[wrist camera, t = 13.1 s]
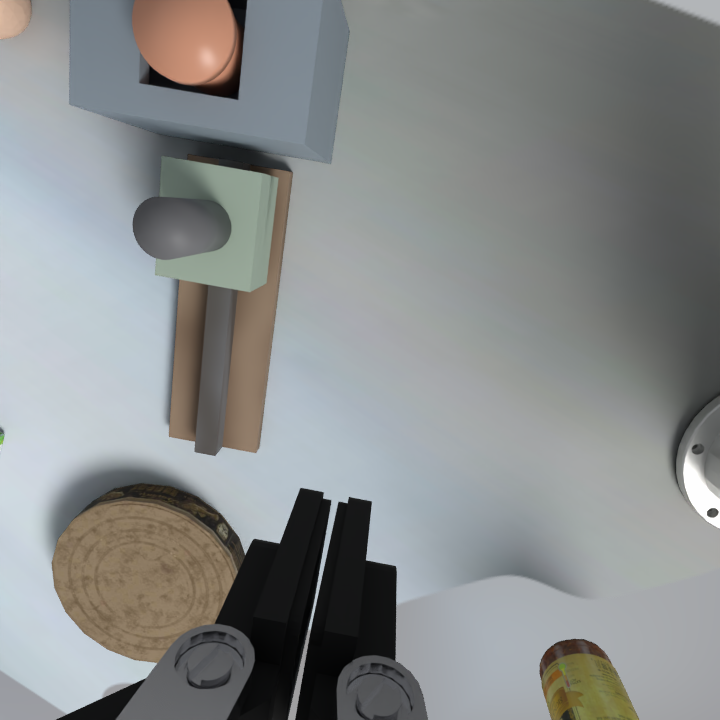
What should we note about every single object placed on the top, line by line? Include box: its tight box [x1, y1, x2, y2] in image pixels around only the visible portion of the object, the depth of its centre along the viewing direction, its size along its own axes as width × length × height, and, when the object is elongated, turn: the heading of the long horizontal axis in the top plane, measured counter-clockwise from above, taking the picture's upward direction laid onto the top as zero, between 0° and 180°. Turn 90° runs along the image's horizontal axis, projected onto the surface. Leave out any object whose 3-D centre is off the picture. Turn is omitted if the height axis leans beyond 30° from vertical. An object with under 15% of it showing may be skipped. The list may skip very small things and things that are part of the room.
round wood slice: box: [52, 483, 245, 663], centre depth 44 cm, size 16×16×3 cm
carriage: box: [133, 156, 279, 292], centre depth 30 cm, size 6×7×10 cm
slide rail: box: [169, 154, 293, 456], centre depth 37 cm, size 7×21×3 cm, turn 170°
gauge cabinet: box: [69, 0, 350, 164], centre depth 29 cm, size 13×8×10 cm, turn 80°
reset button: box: [132, 0, 245, 97], centre depth 26 cm, size 5×5×5 cm
